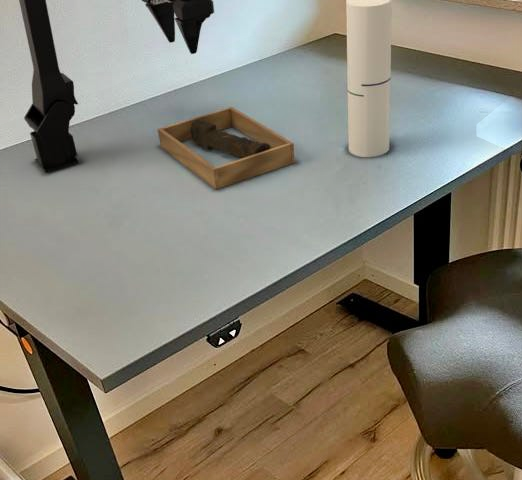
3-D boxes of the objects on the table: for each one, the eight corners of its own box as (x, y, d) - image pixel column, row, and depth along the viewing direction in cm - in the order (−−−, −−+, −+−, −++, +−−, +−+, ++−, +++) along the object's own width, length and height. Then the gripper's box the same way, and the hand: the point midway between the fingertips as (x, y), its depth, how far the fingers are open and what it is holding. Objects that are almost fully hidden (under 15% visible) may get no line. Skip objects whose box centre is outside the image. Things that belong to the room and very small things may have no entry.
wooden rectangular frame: (215, 189, 133) (213, 169, 131) (160, 147, 149) (157, 128, 147) (295, 162, 139) (294, 143, 137) (233, 124, 155) (231, 106, 152)
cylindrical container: (387, 157, 137) (390, 5, 122) (346, 156, 139) (343, 7, 124) (390, 140, 143) (393, -8, 127) (351, 139, 144) (348, -6, 129)
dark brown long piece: (273, 162, 140) (271, 137, 137) (256, 170, 138) (254, 145, 135) (203, 137, 151) (200, 113, 148) (187, 144, 149) (184, 120, 146)
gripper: (235, -45, 135) (244, 49, 145) (187, -60, 148) (198, 27, 158) (177, -32, 131) (190, 63, 141) (132, -48, 144) (147, 40, 154)
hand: (182, 47), depth 148 cm, fingers open, 9 cm apart
